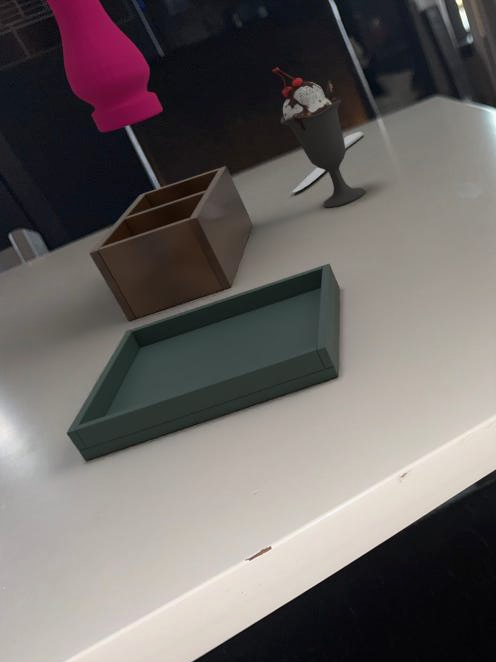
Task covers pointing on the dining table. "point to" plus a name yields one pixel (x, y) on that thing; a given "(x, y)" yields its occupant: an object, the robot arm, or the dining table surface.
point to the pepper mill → (104, 65)
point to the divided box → (175, 244)
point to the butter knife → (318, 171)
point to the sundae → (319, 132)
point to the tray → (213, 362)
